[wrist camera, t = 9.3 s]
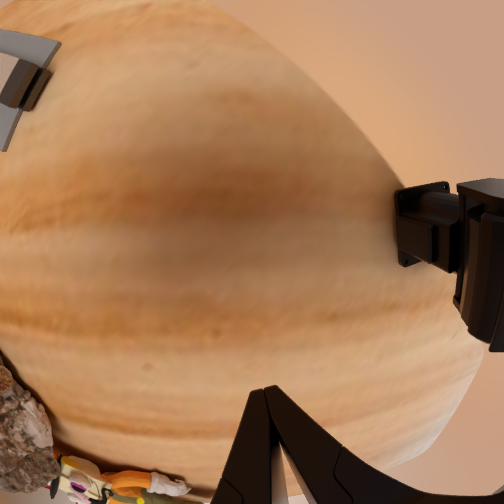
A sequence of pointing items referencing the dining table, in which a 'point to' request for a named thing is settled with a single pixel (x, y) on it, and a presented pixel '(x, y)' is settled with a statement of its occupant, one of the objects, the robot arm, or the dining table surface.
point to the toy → (113, 485)
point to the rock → (24, 439)
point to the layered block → (20, 82)
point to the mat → (30, 49)
